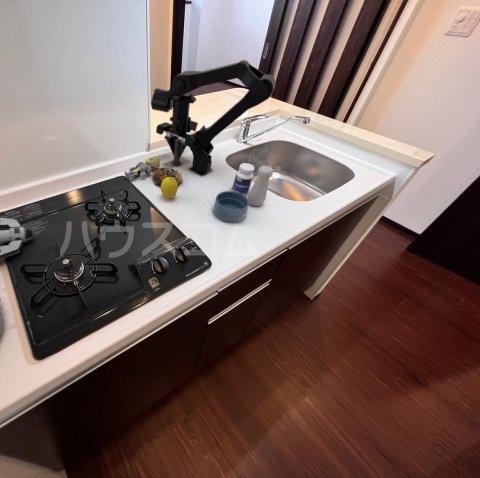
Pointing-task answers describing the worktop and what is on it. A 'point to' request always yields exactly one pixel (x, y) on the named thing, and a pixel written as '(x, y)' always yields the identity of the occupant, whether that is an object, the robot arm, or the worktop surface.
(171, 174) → the bread roll
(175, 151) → the muddler
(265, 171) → the salt shaker
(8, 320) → the worktop surface
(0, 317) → the dish
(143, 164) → the toy
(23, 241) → the toy spacecraft
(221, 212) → the bowl
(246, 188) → the pill bottle
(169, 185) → the lemon
